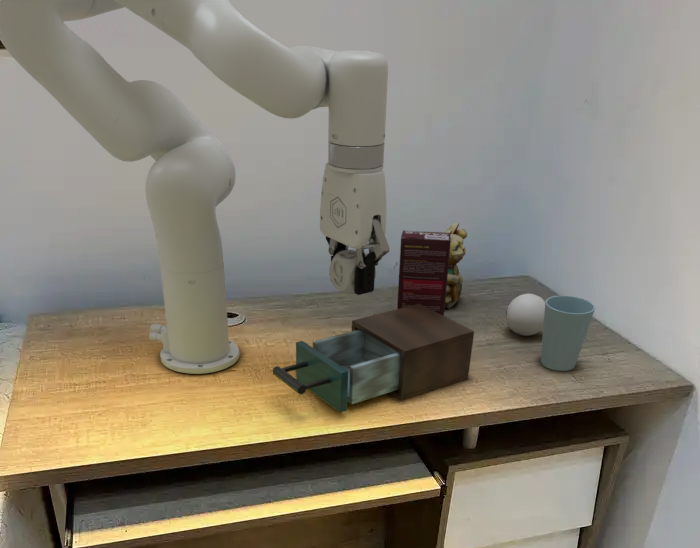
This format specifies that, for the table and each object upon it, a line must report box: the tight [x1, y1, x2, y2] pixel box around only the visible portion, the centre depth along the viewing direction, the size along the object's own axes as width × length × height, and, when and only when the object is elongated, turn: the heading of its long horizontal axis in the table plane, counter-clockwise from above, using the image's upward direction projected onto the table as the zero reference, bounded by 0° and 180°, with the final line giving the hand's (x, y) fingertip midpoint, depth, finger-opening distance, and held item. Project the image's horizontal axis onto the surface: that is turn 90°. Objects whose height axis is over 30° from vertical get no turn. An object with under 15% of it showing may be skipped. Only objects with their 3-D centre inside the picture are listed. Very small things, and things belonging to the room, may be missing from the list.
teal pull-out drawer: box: [272, 329, 401, 414], centre depth 108 cm, size 18×12×6 cm, turn 125°
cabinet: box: [351, 304, 475, 401], centre depth 115 cm, size 14×13×8 cm
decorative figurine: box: [443, 222, 468, 309], centre depth 139 cm, size 10×8×15 cm
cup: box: [540, 295, 596, 372], centre depth 119 cm, size 8×8×10 cm
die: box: [329, 249, 377, 295], centre depth 108 cm, size 5×5×5 cm
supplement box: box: [396, 229, 451, 316], centre depth 131 cm, size 9×5×16 cm, turn 84°
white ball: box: [501, 293, 545, 337], centre depth 131 cm, size 10×7×7 cm
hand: (352, 285), depth 109 cm, fingers closed on die, 5 cm apart
